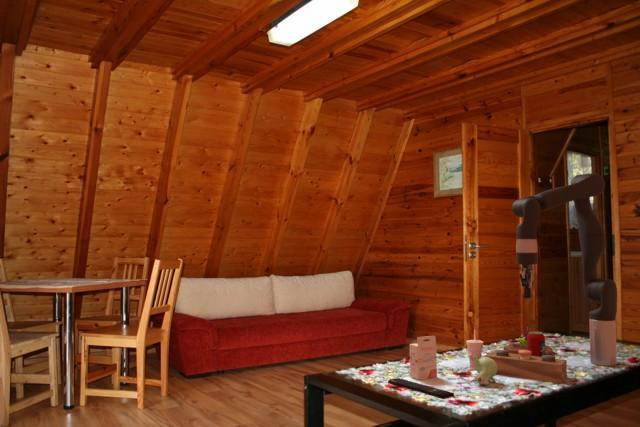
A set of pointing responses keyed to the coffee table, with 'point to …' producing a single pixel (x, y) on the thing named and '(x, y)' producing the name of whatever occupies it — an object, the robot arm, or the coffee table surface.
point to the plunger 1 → (502, 353)
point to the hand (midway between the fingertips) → (527, 298)
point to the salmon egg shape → (524, 354)
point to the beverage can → (536, 343)
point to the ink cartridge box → (423, 358)
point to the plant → (524, 345)
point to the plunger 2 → (548, 358)
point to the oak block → (530, 367)
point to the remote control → (421, 388)
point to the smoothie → (474, 349)
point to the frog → (483, 369)
